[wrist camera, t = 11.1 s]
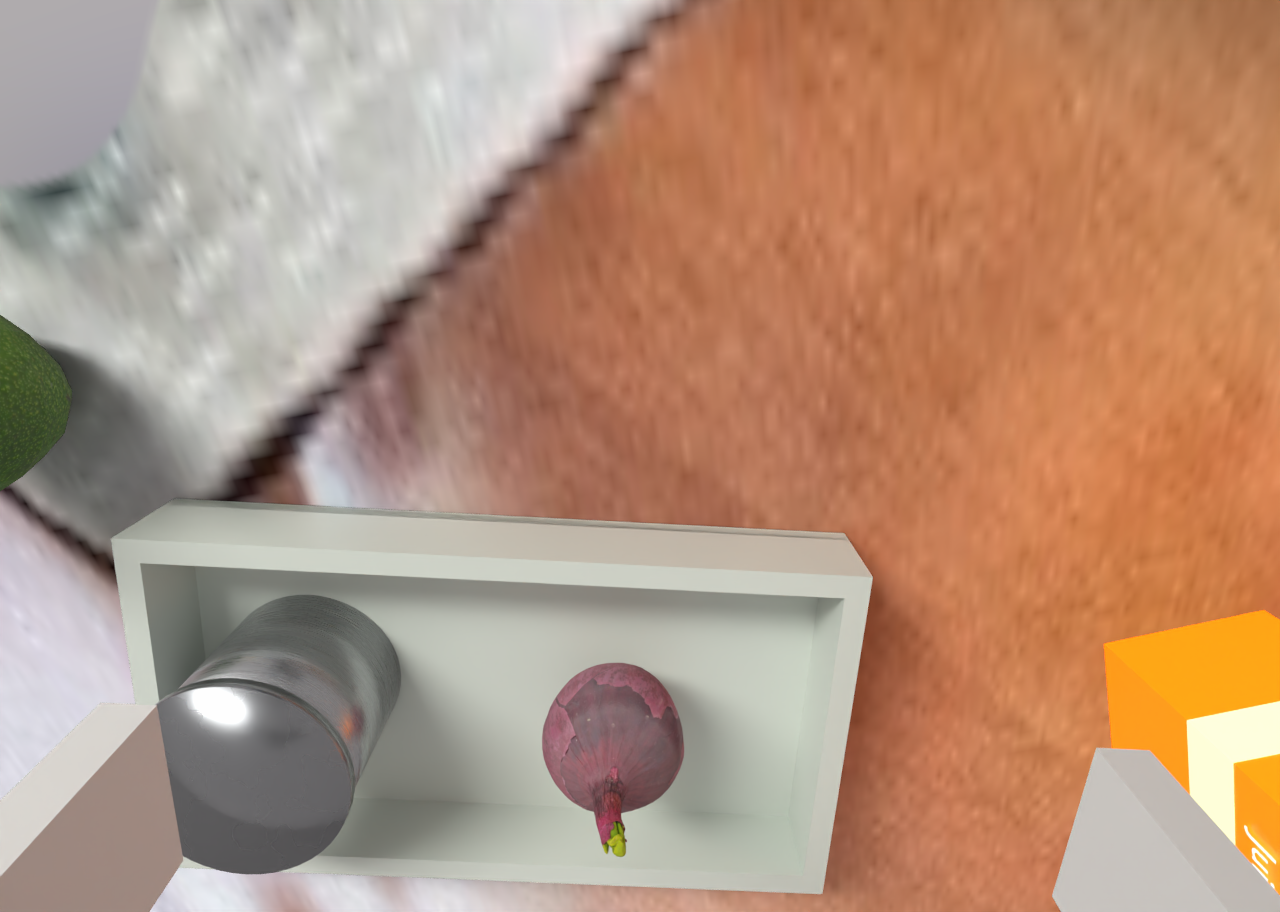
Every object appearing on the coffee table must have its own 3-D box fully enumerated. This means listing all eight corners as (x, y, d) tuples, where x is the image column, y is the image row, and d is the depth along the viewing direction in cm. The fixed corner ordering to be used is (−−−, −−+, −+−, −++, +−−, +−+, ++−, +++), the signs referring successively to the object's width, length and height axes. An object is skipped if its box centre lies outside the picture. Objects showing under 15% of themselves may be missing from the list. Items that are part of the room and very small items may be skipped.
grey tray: (174, 498, 35) (110, 538, 31) (844, 533, 36) (872, 577, 32) (210, 796, 40) (159, 867, 36) (802, 821, 41) (822, 893, 36)
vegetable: (580, 758, 39) (563, 938, 29) (528, 654, 37) (491, 809, 27) (698, 717, 38) (719, 888, 28) (650, 609, 36) (656, 753, 27)
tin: (214, 585, 36) (108, 681, 28) (402, 595, 36) (344, 693, 29) (232, 744, 38) (137, 869, 31) (408, 751, 38) (355, 878, 31)
